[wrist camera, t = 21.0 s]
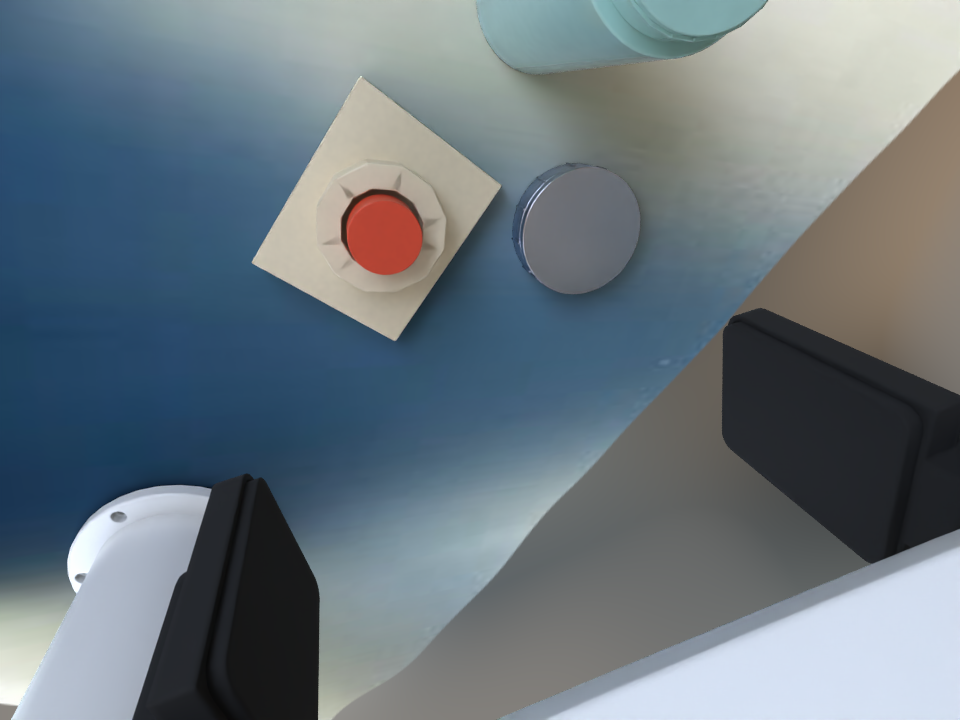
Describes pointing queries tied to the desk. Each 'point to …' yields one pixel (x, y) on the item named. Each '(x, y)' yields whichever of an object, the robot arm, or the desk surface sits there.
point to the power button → (383, 234)
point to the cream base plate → (364, 172)
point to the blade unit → (576, 227)
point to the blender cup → (605, 30)
